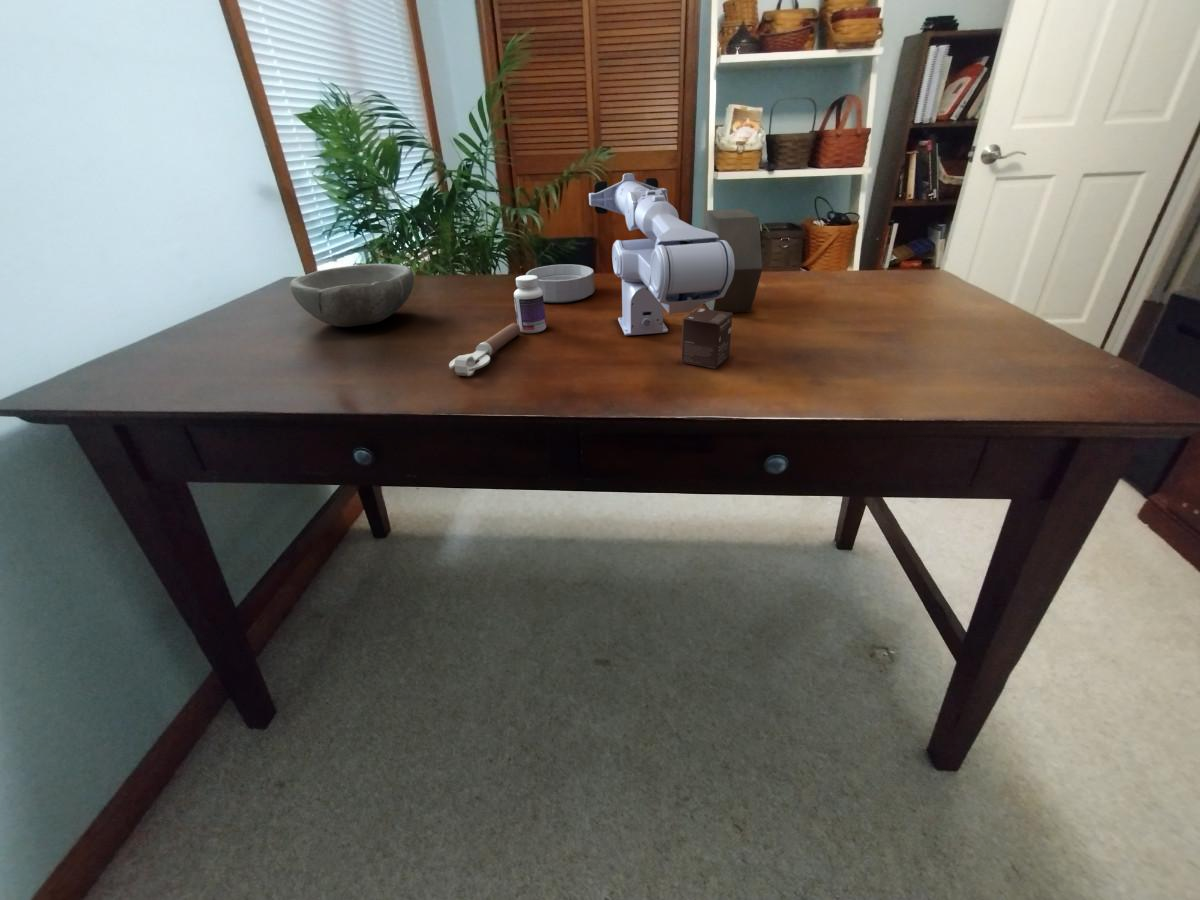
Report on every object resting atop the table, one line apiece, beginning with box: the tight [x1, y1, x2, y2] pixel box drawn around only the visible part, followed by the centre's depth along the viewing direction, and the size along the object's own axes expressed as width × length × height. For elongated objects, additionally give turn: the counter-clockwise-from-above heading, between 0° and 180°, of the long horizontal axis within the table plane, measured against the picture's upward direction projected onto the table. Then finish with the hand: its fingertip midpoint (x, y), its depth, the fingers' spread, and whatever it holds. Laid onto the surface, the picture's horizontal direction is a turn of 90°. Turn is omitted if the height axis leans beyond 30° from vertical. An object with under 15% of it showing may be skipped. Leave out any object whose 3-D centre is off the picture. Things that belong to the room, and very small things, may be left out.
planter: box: [702, 208, 763, 313], centre depth 108 cm, size 17×8×21 cm
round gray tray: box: [525, 263, 595, 304], centre depth 122 cm, size 15×15×5 cm
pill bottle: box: [513, 274, 547, 334], centre depth 101 cm, size 5×5×10 cm
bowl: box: [289, 263, 415, 328], centre depth 109 cm, size 23×22×10 cm
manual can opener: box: [448, 322, 521, 377], centre depth 92 cm, size 21×6×3 cm, turn 167°
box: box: [680, 308, 734, 369], centre depth 85 cm, size 6×6×7 cm
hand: (619, 191), depth 108 cm, fingers open, 7 cm apart
